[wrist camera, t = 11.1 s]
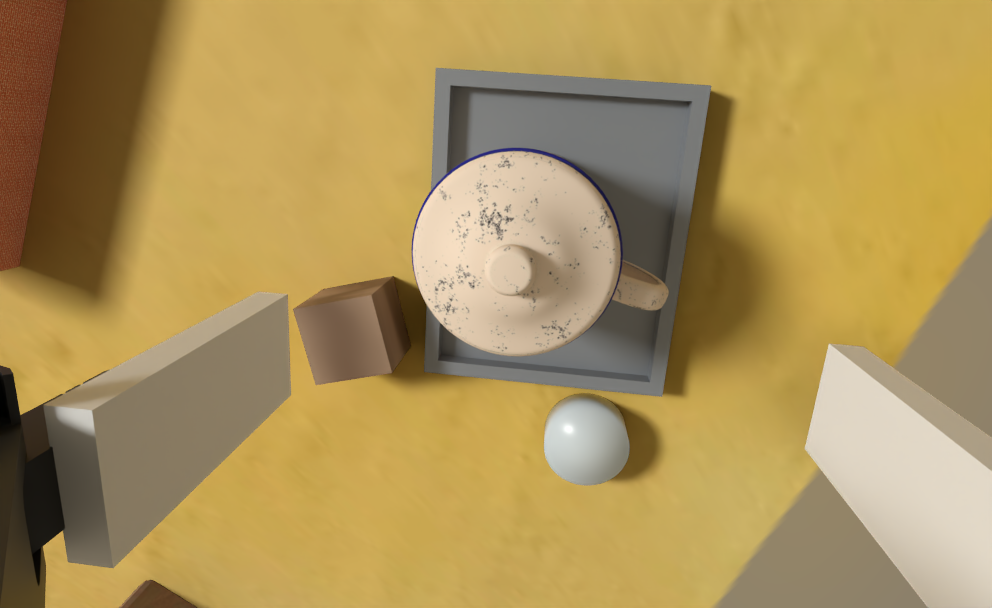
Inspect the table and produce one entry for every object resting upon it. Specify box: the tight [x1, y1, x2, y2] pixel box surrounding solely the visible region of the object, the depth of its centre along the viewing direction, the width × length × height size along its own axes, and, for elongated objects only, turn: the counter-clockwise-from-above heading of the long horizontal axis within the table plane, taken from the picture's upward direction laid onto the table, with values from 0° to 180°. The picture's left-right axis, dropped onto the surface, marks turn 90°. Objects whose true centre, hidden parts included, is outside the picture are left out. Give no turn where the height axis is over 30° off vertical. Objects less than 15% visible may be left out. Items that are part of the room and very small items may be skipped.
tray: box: [424, 68, 711, 397], centre depth 34 cm, size 14×17×2 cm
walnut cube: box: [293, 276, 411, 385], centre depth 35 cm, size 4×4×4 cm
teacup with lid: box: [412, 148, 669, 356], centre depth 29 cm, size 12×9×12 cm
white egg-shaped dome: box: [544, 393, 630, 485], centre depth 37 cm, size 5×5×2 cm
